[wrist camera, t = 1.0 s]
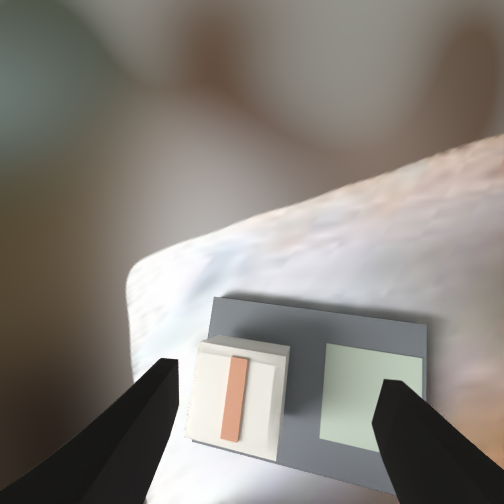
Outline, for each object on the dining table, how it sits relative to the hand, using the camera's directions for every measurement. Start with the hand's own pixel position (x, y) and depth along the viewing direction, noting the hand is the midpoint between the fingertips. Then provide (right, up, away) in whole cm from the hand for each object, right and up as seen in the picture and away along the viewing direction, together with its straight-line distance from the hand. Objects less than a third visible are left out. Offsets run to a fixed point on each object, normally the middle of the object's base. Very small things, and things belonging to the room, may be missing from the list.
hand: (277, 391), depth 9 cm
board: (+3, -5, +11) cm, 13 cm away
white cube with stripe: (-1, -4, +10) cm, 11 cm away
